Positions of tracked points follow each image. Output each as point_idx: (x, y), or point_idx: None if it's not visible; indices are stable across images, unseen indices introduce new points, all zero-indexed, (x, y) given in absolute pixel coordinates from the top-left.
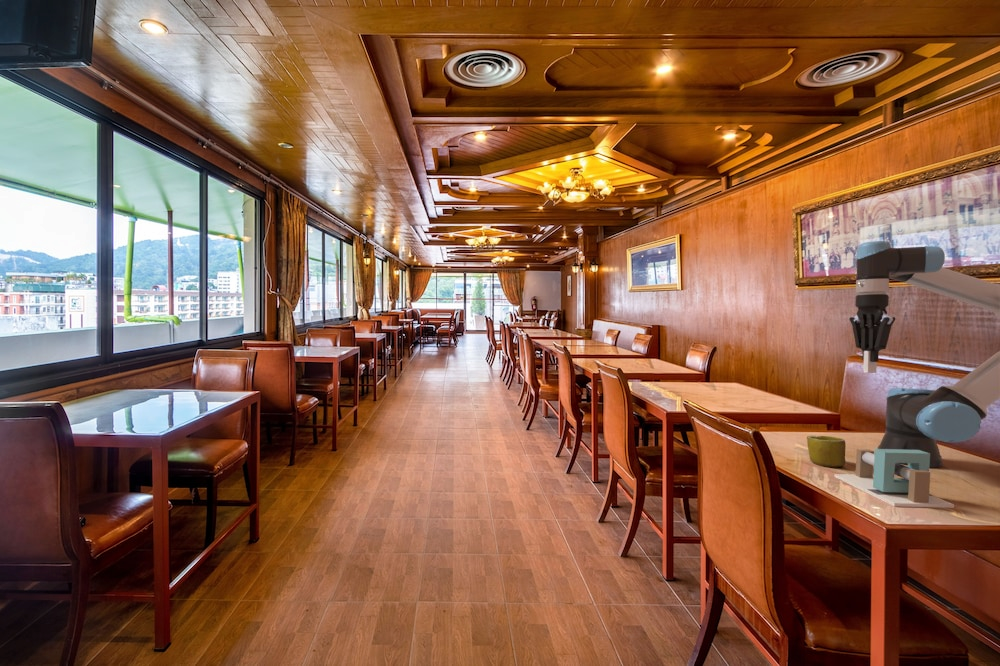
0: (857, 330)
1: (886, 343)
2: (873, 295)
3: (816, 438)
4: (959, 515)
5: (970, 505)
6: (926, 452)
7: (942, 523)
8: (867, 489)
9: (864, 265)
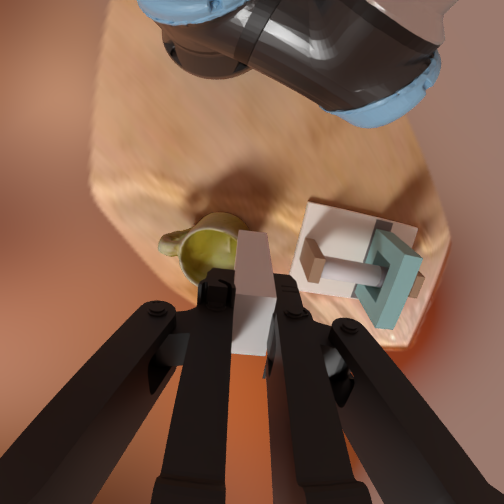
0: (105, 469)
1: (382, 354)
2: None
3: (182, 251)
4: (428, 246)
5: (417, 190)
6: (417, 257)
7: (430, 290)
8: (350, 297)
9: None
